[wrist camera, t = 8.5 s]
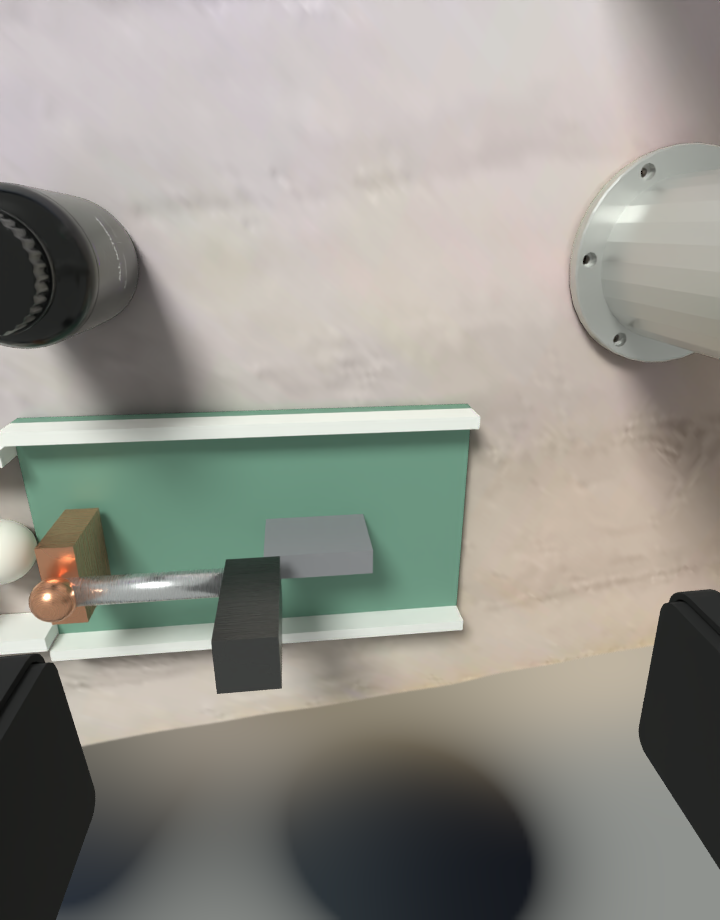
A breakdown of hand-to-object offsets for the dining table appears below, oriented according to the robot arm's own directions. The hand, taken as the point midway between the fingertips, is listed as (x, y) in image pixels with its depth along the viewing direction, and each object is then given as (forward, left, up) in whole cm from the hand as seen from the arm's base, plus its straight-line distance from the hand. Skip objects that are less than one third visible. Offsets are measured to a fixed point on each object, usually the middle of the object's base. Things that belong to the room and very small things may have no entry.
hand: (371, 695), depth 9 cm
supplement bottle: (+13, -5, -29) cm, 32 cm away
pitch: (+7, +12, -29) cm, 32 cm away
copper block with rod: (+9, +12, -27) cm, 31 cm away
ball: (+19, +12, -27) cm, 35 cm away
